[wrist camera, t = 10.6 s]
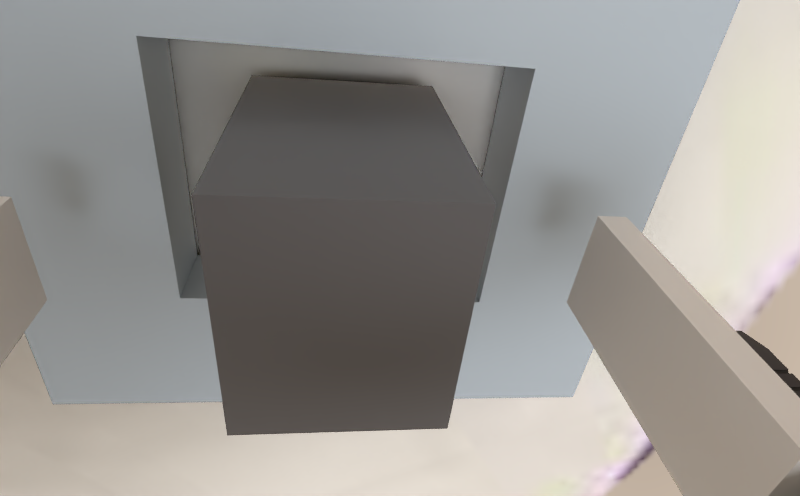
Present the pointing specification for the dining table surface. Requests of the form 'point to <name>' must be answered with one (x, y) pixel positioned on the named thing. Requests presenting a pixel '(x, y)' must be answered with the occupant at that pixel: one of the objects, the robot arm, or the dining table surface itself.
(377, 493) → the dining table surface
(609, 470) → the dining table surface
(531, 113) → the socket plate
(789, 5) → the dining table surface
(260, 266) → the plug
